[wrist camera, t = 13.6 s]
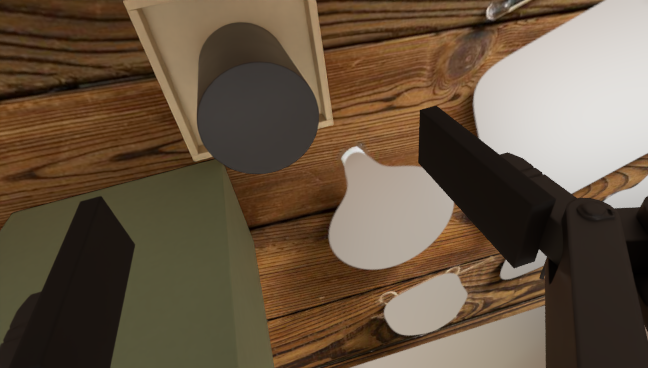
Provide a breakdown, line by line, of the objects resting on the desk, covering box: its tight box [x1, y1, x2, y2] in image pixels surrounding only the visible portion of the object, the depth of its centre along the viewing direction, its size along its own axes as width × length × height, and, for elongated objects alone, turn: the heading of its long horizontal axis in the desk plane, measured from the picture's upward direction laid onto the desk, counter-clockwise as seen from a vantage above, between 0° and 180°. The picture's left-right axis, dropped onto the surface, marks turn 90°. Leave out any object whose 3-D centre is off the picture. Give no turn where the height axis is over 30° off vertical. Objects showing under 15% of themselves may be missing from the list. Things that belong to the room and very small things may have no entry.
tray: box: [123, 0, 334, 162], centre depth 27 cm, size 12×12×2 cm
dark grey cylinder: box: [197, 22, 319, 174], centre depth 24 cm, size 7×7×10 cm
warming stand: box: [0, 159, 274, 368], centre depth 25 cm, size 11×18×23 cm, turn 99°
